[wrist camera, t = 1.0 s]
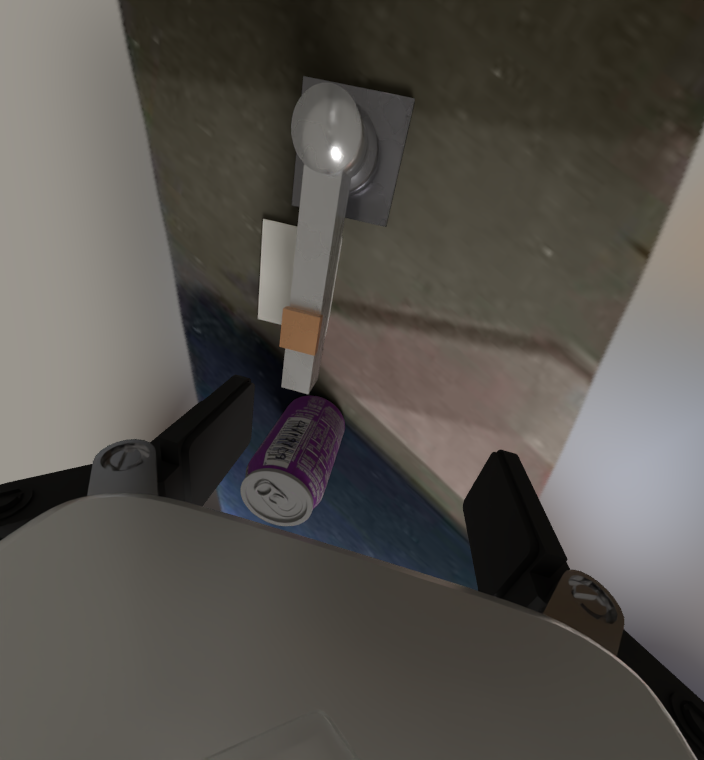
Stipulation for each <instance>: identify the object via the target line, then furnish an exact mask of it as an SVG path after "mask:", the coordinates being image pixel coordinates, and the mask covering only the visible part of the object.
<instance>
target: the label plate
mask: <svg viewBox="0 0 704 760" xmlns="http://www.w3.org/2000/svg"><path fill="white" fill-rule="evenodd" d="M297 228H298V226H293V225H289V224H285V223H280V222H276V221H272V220H268V219H263V229H262V248H261V267H260V287H259V306H258V319H260V320H264V321H268V322H272V323H276V324H280V325H281V324H282V313H283V308H285V307H286V306H289V307H290V297H291V287H292V277H293V267H294V257H295V248H296V238H297ZM342 238H343V237H341V243H340V249H339V255H338V261H337V267H336V273H335V279H334V285H333V291H334V286H335V280H336V274H337V268H338V262H339V256H340V250H341V244H342ZM333 291H332V297H333ZM332 297H331V303H332ZM331 303H330V309H331ZM329 315H330V310H329ZM328 321H329V316H328ZM327 327H328V322H327ZM326 333H327V328H326ZM325 335H326V334H325Z"/></svg>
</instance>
